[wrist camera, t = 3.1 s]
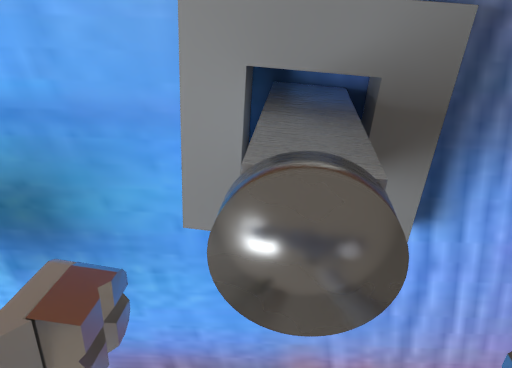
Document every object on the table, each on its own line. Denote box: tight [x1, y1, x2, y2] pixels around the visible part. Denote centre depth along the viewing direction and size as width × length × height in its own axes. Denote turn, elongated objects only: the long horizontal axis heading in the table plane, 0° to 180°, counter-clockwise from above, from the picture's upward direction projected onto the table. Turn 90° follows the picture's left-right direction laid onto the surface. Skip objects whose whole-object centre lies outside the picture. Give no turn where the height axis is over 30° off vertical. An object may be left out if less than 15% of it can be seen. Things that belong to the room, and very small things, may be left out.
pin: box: [207, 81, 409, 336], centre depth 16 cm, size 5×5×14 cm
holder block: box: [178, 0, 478, 242], centre depth 20 cm, size 13×13×3 cm
